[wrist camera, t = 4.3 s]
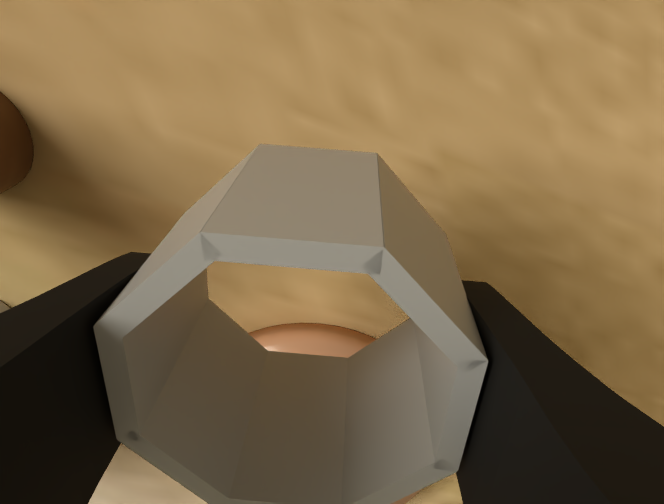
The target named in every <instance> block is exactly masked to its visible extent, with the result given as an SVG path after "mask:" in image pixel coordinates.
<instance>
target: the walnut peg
mask: <svg viewBox="0 0 664 504" xmlns="http://www.w3.org/2000/svg"><path fill="white" fill-rule="evenodd" d="M32 161H33V143H32V138H31V134H30V131H29V129H28V127H27V124H26V122H25V121H24V119H23V117H22V115H21V114H20V113H19V111H18V110H17V108H16V107H15V106H14V105H13V104H12V102H11V101H10V100H9V99H8V98H7V97H6V96H4V95H3V94H2V93H1V92H0V193H2V192H4V191H5V190H7V189H9V188H11V187H13V186H14V185H16V184H18V183H19V182H21V181H22V180H23V179H24V178H25V176H26V175H27V174H28V172H29V170H30V168H31V165H32Z"/></svg>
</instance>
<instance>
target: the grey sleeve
mask: <svg viewBox="0 0 664 504" xmlns="http://www.w3.org/2000/svg"><path fill="white" fill-rule="evenodd" d="M214 261H222V262H234V263H246V264H258V265H270V266H282V267H294V268H306V269H317V270H329V271H341V272H353V273H365V274H369V275H370V276H371V277H372V278H373V279H374V281H375V282H376V283H377V284H378V285H379V286H380V287H381V288H382V289H383V290H384V291H385V292H386V293H387V294H388V295H389V296H390V297H391V298H392V299H393V300H394V301H395V302H396V304H397V305H398V306H399V307H400V308H401V309H402V310H403V311H404V312H405V313H406V314H407V315H408V316H409V317H410V318H409V319H408V320H406V321H405V322H403V323H402V324H400V325H399V326H397V327H395V328H394V329H392V330H391V331H389V332H388V333H386V334H384V335H383V336H381V337H380V338H378V339H377V340H375V341H373V342H372V343H370V344H369V345H367V346H366V347H364V348H363V349H361V350H359V351H358V352H356V353H355V354H353V355H352V356H350V357H348V358H345V357H333V356H322V355H310V354H299V353H288V352H276V351H268V350H267V349H265V348H264V347H263V346H262V345H261V344H260V343H259V342H257V341H256V340H255V339H254V338H253V337H252V336H251V335H249V334H248V333H247V332H246V331H245V330H244V329H243V328H241V327H240V326H239V325H238V324H237V323H236V322H235V321H233V320H232V319H231V318H230V317H229V316H228V315H227V314H225V313H224V312H223V311H222V310H221V309H220V308H219V307H218V306H216V305H215V304H214V303H213V302H212V301H211V300H210V299H208V284H207V270H206V268H207V267H208V266H209V265H210V264H212V263H213V262H214ZM93 328H94V333H95V338H96V343H97V347H98V352H99V357H100V362H101V367H102V371H103V376H104V381H105V386H106V390H107V395H108V400H109V405H110V410H111V414H112V419H113V424H114V429H115V434H116V438H117V440H118V441H119V442H121V443H122V444H124V445H125V446H126V447H128V448H129V449H131V450H132V451H134V452H135V453H136V454H138V455H139V456H141V457H142V458H144V459H145V460H147V461H148V462H149V463H151V464H152V465H154V466H155V467H157V468H158V469H159V470H161V471H162V472H164V473H165V474H167V475H168V476H170V477H171V478H172V479H174V480H175V481H177V482H178V483H180V484H181V485H182V486H184V487H185V488H187V489H188V490H190V491H191V492H193V493H194V494H195V495H197V496H198V497H200V498H201V499H203V500H204V501H205V502H207V503H208V504H391V503H393V502H396V501H398V500H400V499H402V498H404V497H406V496H408V495H410V494H412V493H414V492H416V491H418V490H420V489H422V488H425V487H427V486H429V485H431V484H433V483H435V482H437V481H439V480H441V479H443V478H445V477H447V476H449V475H451V474H453V473H456V472H457V471H458V469H459V465H460V462H461V458H462V455H463V451H464V447H465V444H466V440H467V437H468V433H469V429H470V426H471V422H472V419H473V415H474V411H475V408H476V404H477V401H478V397H479V393H480V390H481V386H482V383H483V379H484V375H485V372H486V368H487V364H488V359H487V356H486V353H485V350H484V347H483V344H482V341H481V338H480V335H479V332H478V329H477V326H476V323H475V320H474V317H473V314H472V311H471V308H470V305H469V302H468V299H467V296H466V293H465V290H464V287H463V284H462V281H461V278H460V275H459V272H458V269H457V266H456V263H455V260H454V257H453V254H452V250H451V247H450V244H449V241H448V238H447V235H446V234H445V232H444V231H443V230H442V229H441V228H440V227H439V225H438V224H437V223H436V222H435V221H434V219H433V218H432V217H431V216H430V215H429V214H428V212H427V211H426V210H425V209H424V208H423V206H422V205H421V204H420V203H419V202H418V201H417V199H416V198H415V197H414V196H413V195H412V193H411V192H410V191H409V190H408V189H407V188H406V186H405V185H404V184H403V183H402V182H401V181H400V179H399V178H398V177H397V176H396V175H395V173H394V172H393V171H392V170H391V169H390V168H389V166H388V165H387V164H386V163H385V162H384V160H383V159H382V158H381V157H380V156H379V155H378V153H371V152H358V151H346V150H333V149H320V148H307V147H295V146H282V145H269V144H259V145H258V146H257V147H256V148H255V149H254V150H253V151H251V152H250V153H249V154H248V155H247V156H246V157H245V158H244V159H243V160H242V161H241V162H239V163H238V164H237V165H236V166H235V167H234V168H233V169H232V170H231V171H230V172H229V173H227V174H226V175H225V176H224V177H223V178H222V179H221V180H220V181H219V182H218V183H217V184H215V185H214V186H213V187H212V188H211V189H210V190H209V191H208V192H207V193H206V194H205V195H203V196H202V197H201V198H200V199H199V200H198V201H197V202H196V203H195V204H194V205H193V206H192V207H190V208H189V209H188V210H187V211H186V212H185V213H184V214H183V215H182V217H181V218H180V219H179V220H178V222H177V223H176V224H175V225H174V227H173V228H172V229H171V230H170V232H169V233H168V234H167V235H166V237H165V238H164V239H163V240H162V241H161V243H160V244H159V245H158V246H157V248H156V249H155V250H154V251H153V253H152V254H151V255H150V256H149V258H148V259H147V260H146V261H145V263H144V264H143V265H142V266H141V268H140V269H139V270H138V271H137V272H136V274H135V275H134V276H133V277H132V279H131V280H130V281H129V282H128V284H127V285H126V286H125V287H124V289H123V290H122V291H121V292H120V294H119V295H118V296H117V297H116V299H115V300H114V301H113V302H112V304H111V305H110V306H109V307H108V308H107V310H106V311H105V312H104V313H103V315H102V316H101V317H100V318H99V320H98V321H97V322H96V323H95V325H94V326H93Z"/></svg>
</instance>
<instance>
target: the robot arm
mask: <svg viewBox="0 0 664 504" xmlns="http://www.w3.org/2000/svg"><path fill="white" fill-rule="evenodd" d="M150 255H151V254H148V253H137V252H130V253H128V254H125V255H122V256H120V257H117V258H115V259H113V260H111V261H108V262H106V263H104V264H102V265H100V266H98V267H96V268H94V269H92V270H90V271H88V272H86V273H84V274H82V275H80V276H78V277H76V278H74V279H72V280H69V281H67V282H65V283H63V284H61V285H59V286H57V287H55V288H53V289H51V290H49V291H47V292H45V293H43V294H41V295H39V296H37V297H35V298H33V299H30V300H28V301H26V302H24V303H22V304H19V305H17V306H15V307H13V308H10V309H8V310H6V311H4V312H2V313H0V504H88V502H89V500H90V498H91V497H92V495H93V493H94V491H95V489H96V487H97V485H98V483H99V481H100V479H101V477H102V476H103V474H104V472H105V470H106V469H107V467H108V465H109V463H110V461H111V460H112V458H113V456H114V454H115V453H116V451H117V449H118V447H119V445H120V444H121V442H119V441H118V440H117V438H116V434H115V429H114V424H113V419H112V414H111V410H110V405H109V400H108V395H107V390H106V386H105V381H104V376H103V371H102V367H101V362H100V357H99V352H98V347H97V343H96V338H95V333H94V328H93V326H94V325H95V323H96V322H97V321H98V320H99V318H100V317H101V316H102V315H103V313H104V312H105V311H106V310H107V308H108V307H109V306H110V305H111V304H112V302H113V301H114V300H115V299H116V297H117V296H118V295H119V294H120V292H121V291H122V290H123V289H124V287H125V286H126V285H127V284H128V282H129V281H130V280H131V279H132V277H133V276H134V275H135V274H136V272H137V271H138V270H139V269H140V268H141V266H142V265H143V264H144V263H145V261H146V260H147V259H148V258H149V256H150ZM461 281H462V284H463V287H464V290H465V293H466V296H467V299H468V302H469V305H470V308H471V311H472V314H473V317H474V320H475V323H476V326H477V329H478V332H479V335H480V338H481V341H482V344H483V347H484V350H485V353H486V356H487V359H488V364H487V368H486V372H485V375H484V379H483V383H482V386H481V390H480V393H479V397H478V401H477V404H476V408H475V411H474V415H473V419H472V422H471V426H470V429H469V433H468V437H467V440H466V444H465V447H464V451H463V455H462V458H461V462H460V465H459V469H458V471H457V472H456V474H457V479H458V483H459V487H460V492H461V496H462V500H463V504H664V427H663V426H662V425H660V424H659V423H658V422H656V421H655V420H653V419H652V418H650V417H649V416H647V415H646V414H645V413H643V412H642V411H640V410H639V409H637V408H636V407H634V406H633V405H631V404H630V403H629V402H627V401H626V400H625V399H623V398H622V397H620V396H619V395H618V394H616V393H615V392H614V391H612V390H611V389H610V388H608V387H607V386H606V385H605V384H603V383H602V382H601V381H600V380H598V379H597V378H596V377H594V376H593V375H592V374H591V373H589V372H588V371H587V370H586V369H584V368H583V367H582V366H581V365H579V364H578V363H577V362H576V361H575V360H573V359H572V358H571V357H570V356H569V355H567V354H566V353H565V352H564V351H563V350H561V349H560V348H559V347H558V346H557V345H556V344H555V343H553V342H552V341H551V340H550V339H549V338H548V337H547V336H545V335H544V334H543V333H542V332H541V331H540V330H539V329H538V328H537V327H535V326H534V325H533V324H532V323H531V322H530V321H529V320H528V319H527V318H526V317H525V316H523V315H522V314H521V313H520V312H519V311H518V310H517V309H516V308H515V307H514V306H513V305H512V304H511V303H509V302H508V301H507V300H506V299H505V298H504V297H503V296H502V295H501V294H500V293H498V292H497V291H496V290H495V289H494V288H493V287H492V286H490V285H489V284H488V283H486V282H475V281H463V280H461Z"/></svg>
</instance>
